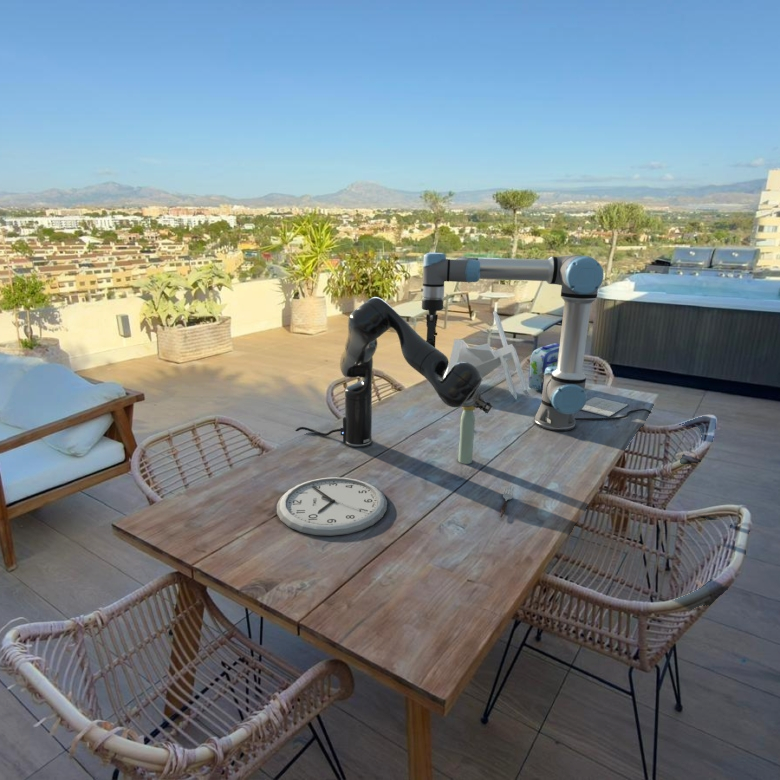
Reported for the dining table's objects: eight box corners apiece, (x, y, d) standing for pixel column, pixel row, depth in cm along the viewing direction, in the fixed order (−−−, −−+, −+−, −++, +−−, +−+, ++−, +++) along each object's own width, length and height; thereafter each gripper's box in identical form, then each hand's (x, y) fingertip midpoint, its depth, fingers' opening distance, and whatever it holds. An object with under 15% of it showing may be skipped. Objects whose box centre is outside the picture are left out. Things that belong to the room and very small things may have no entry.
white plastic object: (461, 429, 252) (437, 405, 227) (444, 352, 274) (420, 323, 250) (535, 404, 240) (518, 377, 215) (510, 326, 262) (492, 293, 237)
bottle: (460, 457, 174) (464, 400, 168) (473, 459, 172) (477, 402, 166) (456, 462, 170) (459, 404, 164) (469, 465, 169) (473, 406, 163)
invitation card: (608, 416, 214) (573, 407, 224) (608, 416, 214) (573, 408, 224) (628, 404, 229) (594, 396, 238) (628, 405, 229) (594, 397, 238)
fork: (495, 518, 138) (496, 511, 137) (504, 491, 152) (505, 484, 151) (505, 520, 137) (506, 513, 136) (513, 492, 151) (514, 486, 150)
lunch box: (544, 395, 239) (549, 351, 233) (524, 390, 247) (528, 347, 240) (571, 384, 257) (577, 343, 251) (552, 380, 264) (556, 339, 258)
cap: (464, 405, 168) (464, 399, 168) (476, 407, 167) (477, 401, 166) (460, 409, 165) (460, 402, 164) (472, 411, 163) (473, 404, 163)
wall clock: (392, 527, 129) (268, 531, 127) (391, 533, 130) (269, 537, 127) (383, 473, 158) (282, 475, 155) (383, 478, 158) (282, 480, 156)
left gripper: (434, 388, 136) (442, 394, 152) (480, 419, 133) (483, 422, 149) (450, 364, 136) (456, 373, 152) (496, 394, 132) (498, 400, 148)
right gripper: (424, 293, 195) (422, 349, 202) (419, 302, 172) (417, 365, 178) (444, 294, 195) (441, 350, 201) (442, 303, 171) (439, 366, 177)
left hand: (469, 397), depth 150 cm, fingers open, 8 cm apart
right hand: (430, 357), depth 190 cm, fingers open, 13 cm apart
